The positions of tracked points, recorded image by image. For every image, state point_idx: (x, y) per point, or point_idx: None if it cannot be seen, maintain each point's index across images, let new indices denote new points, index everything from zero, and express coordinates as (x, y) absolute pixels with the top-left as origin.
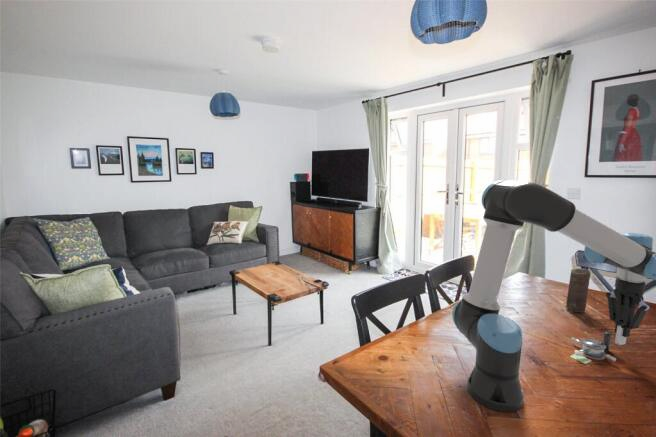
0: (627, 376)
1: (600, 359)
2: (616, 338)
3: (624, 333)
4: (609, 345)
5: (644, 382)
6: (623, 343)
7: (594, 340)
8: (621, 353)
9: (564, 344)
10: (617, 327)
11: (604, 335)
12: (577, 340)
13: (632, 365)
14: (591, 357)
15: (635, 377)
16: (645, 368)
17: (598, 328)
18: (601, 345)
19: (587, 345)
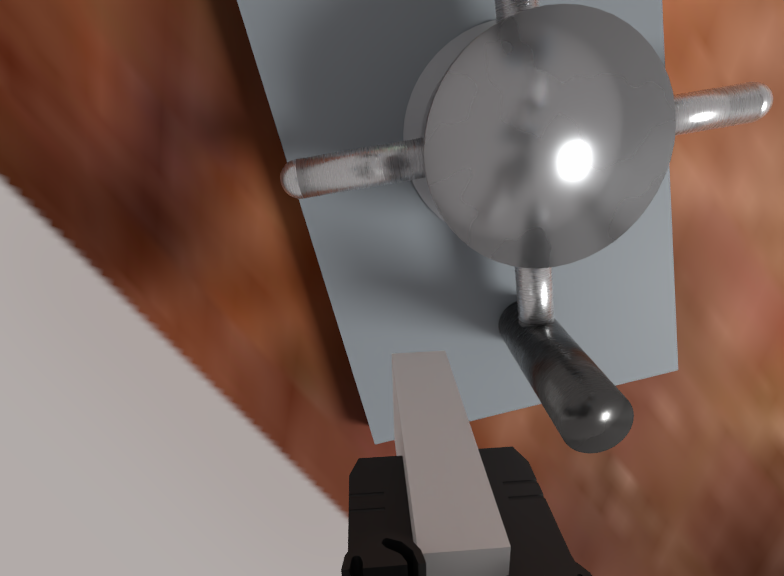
0: (183, 164)
1: (405, 116)
2: (444, 386)
3: (379, 496)
4: (513, 354)
5: (95, 224)
6: (394, 416)
7: (596, 221)
8: (472, 423)
9: (749, 62)
10: (497, 513)
11: (597, 372)
12: (705, 103)
13: (320, 354)
14: (457, 55)
15: (166, 219)
16: (271, 407)
17: (773, 559)
18: (486, 198)
19: (539, 7)
